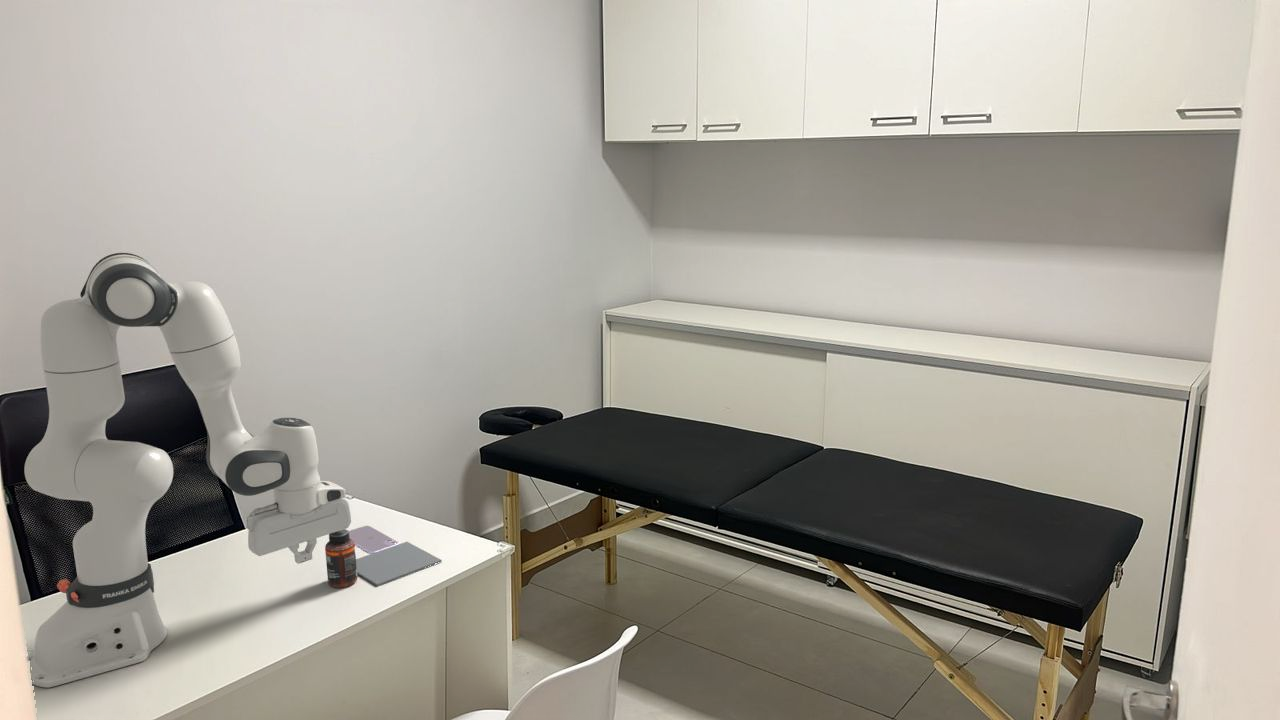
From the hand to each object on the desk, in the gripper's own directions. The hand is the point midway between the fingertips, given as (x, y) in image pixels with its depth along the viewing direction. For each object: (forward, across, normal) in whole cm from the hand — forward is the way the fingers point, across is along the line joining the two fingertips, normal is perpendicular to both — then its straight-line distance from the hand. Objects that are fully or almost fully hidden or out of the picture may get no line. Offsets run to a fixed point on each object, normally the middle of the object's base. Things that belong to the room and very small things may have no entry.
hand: (303, 560), depth 179 cm
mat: (+8, +20, 0) cm, 21 cm away
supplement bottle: (+8, +8, 0) cm, 11 cm away
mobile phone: (+8, +23, +15) cm, 29 cm away
